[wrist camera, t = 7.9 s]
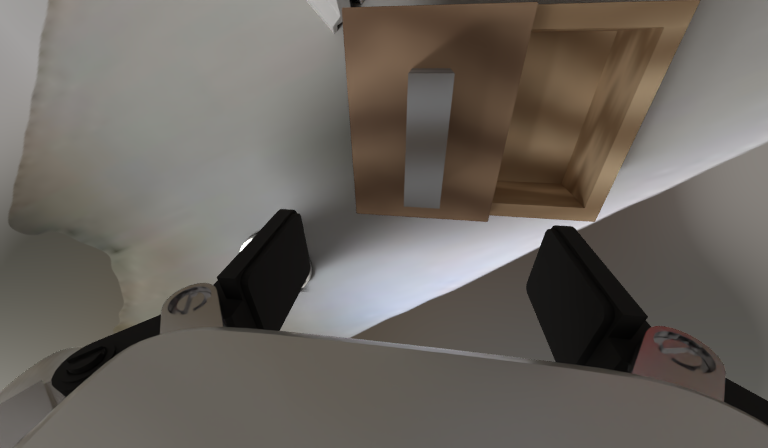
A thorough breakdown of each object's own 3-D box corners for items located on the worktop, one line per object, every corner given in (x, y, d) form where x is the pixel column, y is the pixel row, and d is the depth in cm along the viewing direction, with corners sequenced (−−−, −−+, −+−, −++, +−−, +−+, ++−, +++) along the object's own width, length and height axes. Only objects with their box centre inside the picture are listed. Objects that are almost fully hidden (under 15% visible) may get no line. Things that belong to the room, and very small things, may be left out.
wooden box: (567, 192, 34) (594, 221, 29) (452, 186, 36) (456, 213, 30) (637, 10, 25) (700, -1, 19) (476, 14, 26) (489, 5, 21)
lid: (485, 215, 30) (497, 251, 25) (358, 208, 32) (345, 239, 26) (532, 4, 20) (567, -11, 15) (345, 9, 22) (319, -3, 17)
